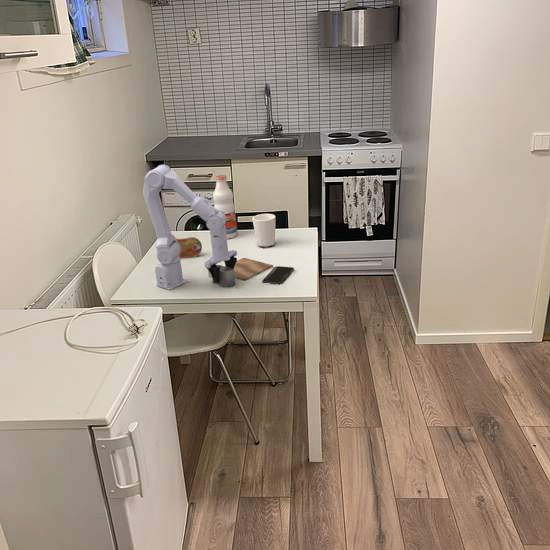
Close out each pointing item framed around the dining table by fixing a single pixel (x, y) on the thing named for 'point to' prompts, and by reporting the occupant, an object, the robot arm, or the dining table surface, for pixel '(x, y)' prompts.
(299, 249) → the dining table surface
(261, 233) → the cup
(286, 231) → the dining table surface
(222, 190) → the fruit juice
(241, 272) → the board
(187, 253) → the tin
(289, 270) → the phone
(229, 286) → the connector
